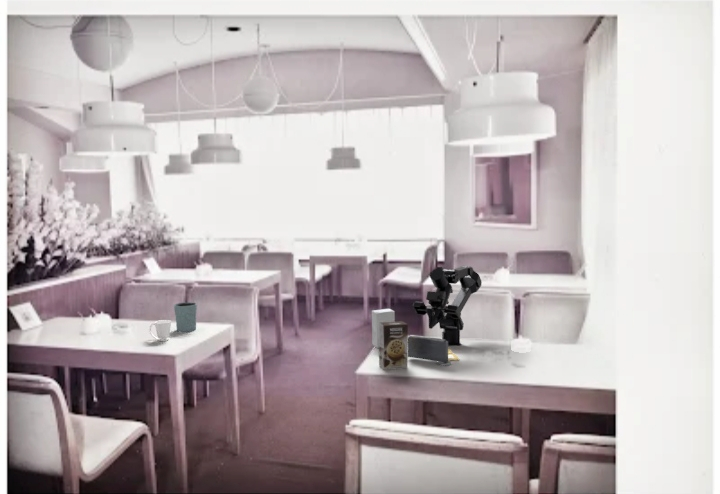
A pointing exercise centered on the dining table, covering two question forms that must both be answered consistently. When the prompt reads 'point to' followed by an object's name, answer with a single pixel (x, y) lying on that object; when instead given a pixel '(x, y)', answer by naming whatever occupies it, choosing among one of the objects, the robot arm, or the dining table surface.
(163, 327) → the cup
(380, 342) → the cookie box
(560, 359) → the dining table surface
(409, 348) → the gray rectangular panel
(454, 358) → the left label plate
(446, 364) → the flange
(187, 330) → the teal tapered pot
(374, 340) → the skincare box
